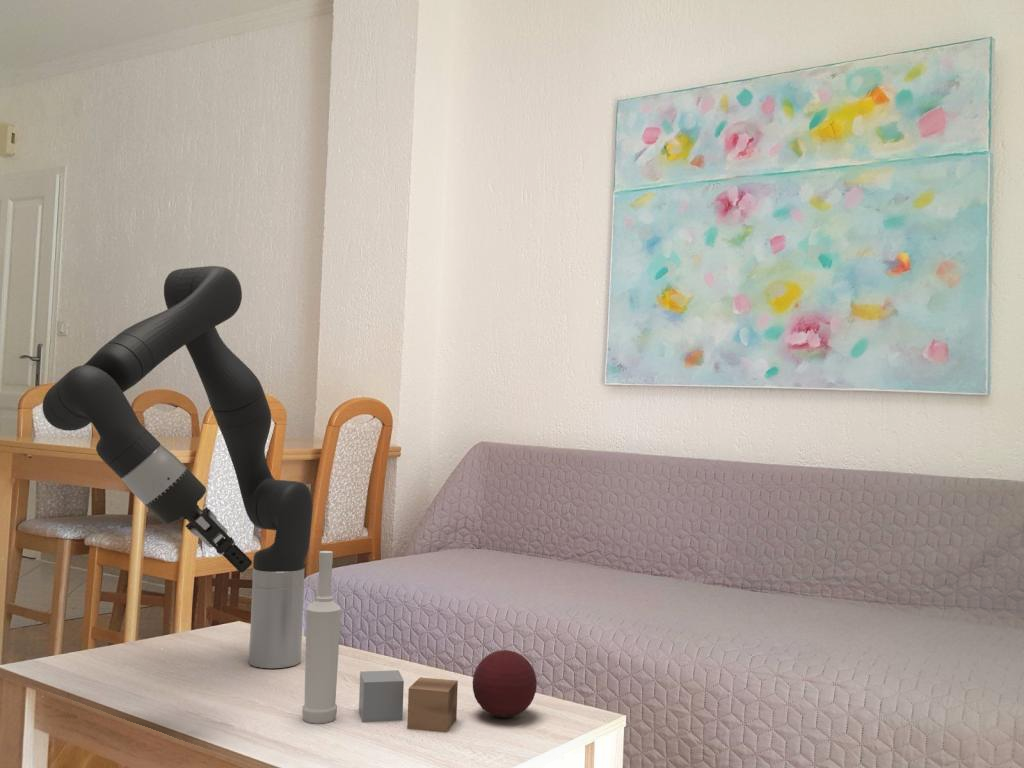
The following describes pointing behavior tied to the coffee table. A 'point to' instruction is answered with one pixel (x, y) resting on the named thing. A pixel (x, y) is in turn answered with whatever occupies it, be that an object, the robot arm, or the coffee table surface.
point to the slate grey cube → (381, 696)
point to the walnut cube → (432, 704)
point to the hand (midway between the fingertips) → (242, 563)
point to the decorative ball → (504, 683)
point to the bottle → (322, 649)
